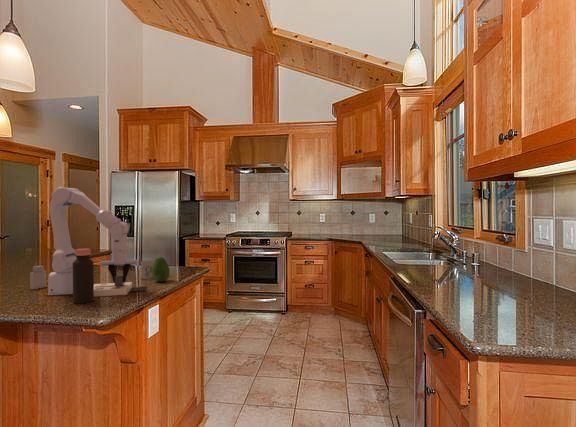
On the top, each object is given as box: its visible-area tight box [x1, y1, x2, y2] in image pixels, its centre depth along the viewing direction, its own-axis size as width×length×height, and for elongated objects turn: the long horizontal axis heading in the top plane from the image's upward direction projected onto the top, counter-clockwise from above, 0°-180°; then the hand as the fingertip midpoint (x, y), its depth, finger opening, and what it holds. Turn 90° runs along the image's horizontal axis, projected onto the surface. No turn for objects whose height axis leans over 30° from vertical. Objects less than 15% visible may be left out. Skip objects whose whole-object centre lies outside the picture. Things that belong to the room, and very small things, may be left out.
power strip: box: [94, 281, 148, 298], centre depth 139 cm, size 22×12×3 cm, turn 105°
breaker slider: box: [115, 273, 125, 286], centre depth 139 cm, size 3×4×4 cm
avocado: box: [152, 256, 171, 283], centre depth 158 cm, size 8×8×12 cm
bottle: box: [72, 247, 95, 305], centre depth 124 cm, size 7×7×20 cm
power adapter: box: [29, 260, 47, 290], centre depth 145 cm, size 3×5×12 cm, turn 162°
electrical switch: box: [140, 259, 156, 280], centre depth 167 cm, size 9×5×9 cm, turn 116°
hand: (119, 282), depth 139 cm, fingers closed on breaker slider, 3 cm apart
